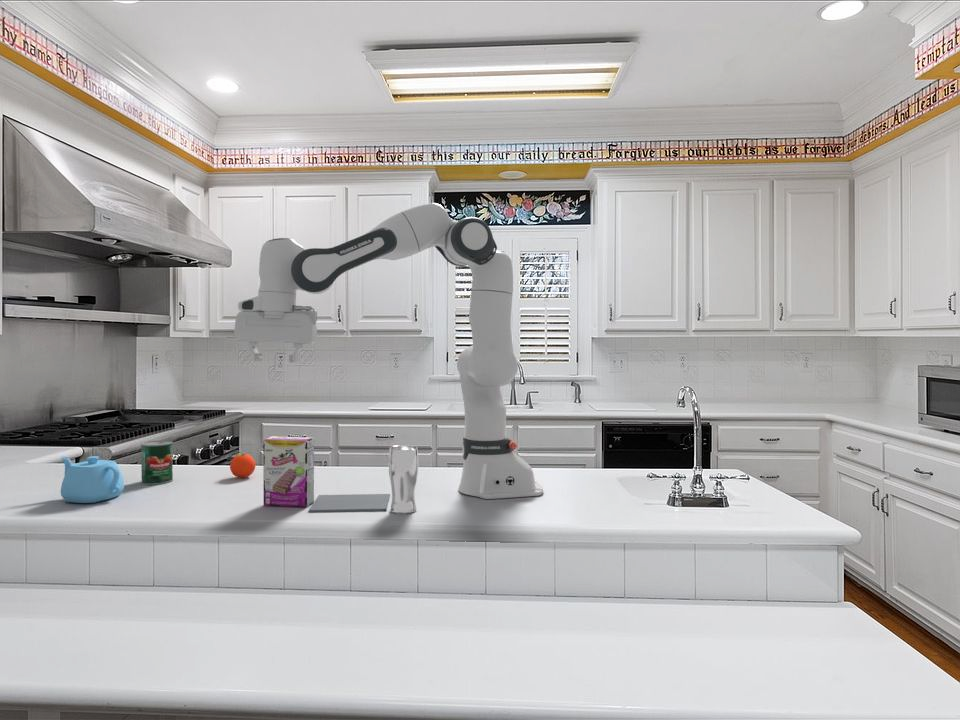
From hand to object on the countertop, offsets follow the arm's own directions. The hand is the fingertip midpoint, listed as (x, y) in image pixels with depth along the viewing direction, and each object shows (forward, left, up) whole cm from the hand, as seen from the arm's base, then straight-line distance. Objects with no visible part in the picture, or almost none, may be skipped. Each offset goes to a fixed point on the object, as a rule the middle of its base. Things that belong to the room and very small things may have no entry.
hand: (275, 361), depth 155 cm
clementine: (+16, -29, -35) cm, 48 cm away
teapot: (+47, -7, -35) cm, 59 cm away
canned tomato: (+38, -25, -35) cm, 57 cm away
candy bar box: (-4, +2, -35) cm, 35 cm away
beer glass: (-32, +9, -35) cm, 48 cm away
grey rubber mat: (-19, +2, -35) cm, 40 cm away
